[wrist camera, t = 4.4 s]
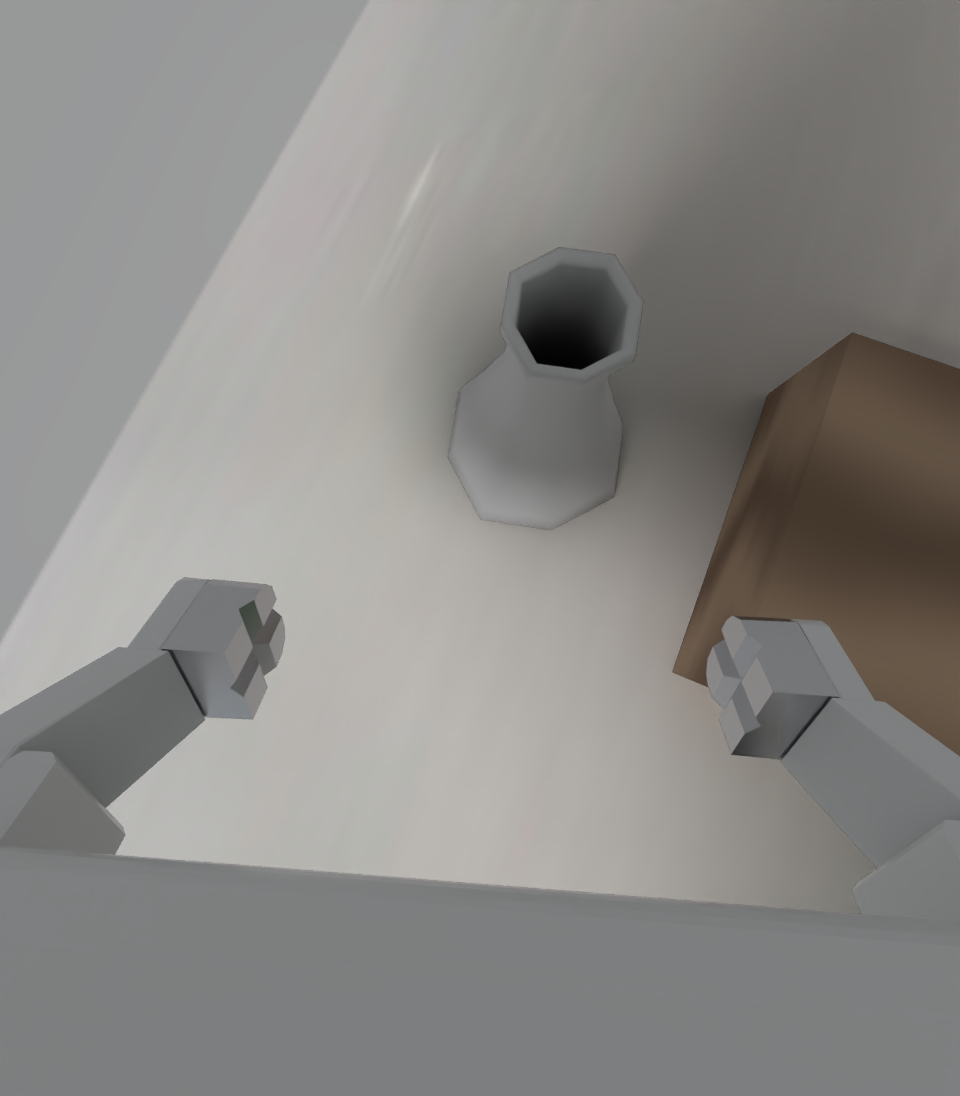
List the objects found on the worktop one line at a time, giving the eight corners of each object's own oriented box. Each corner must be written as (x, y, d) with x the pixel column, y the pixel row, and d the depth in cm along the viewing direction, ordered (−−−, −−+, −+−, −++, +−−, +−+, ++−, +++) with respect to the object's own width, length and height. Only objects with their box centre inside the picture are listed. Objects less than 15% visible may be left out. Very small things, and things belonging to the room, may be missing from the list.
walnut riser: (974, 788, 20) (1137, 853, 15) (672, 672, 20) (730, 696, 15) (1059, 496, 21) (1239, 464, 16) (768, 394, 21) (852, 332, 16)
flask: (434, 376, 22) (386, 190, 12) (605, 347, 22) (700, 136, 12) (462, 545, 21) (435, 499, 11) (638, 516, 21) (770, 443, 11)
